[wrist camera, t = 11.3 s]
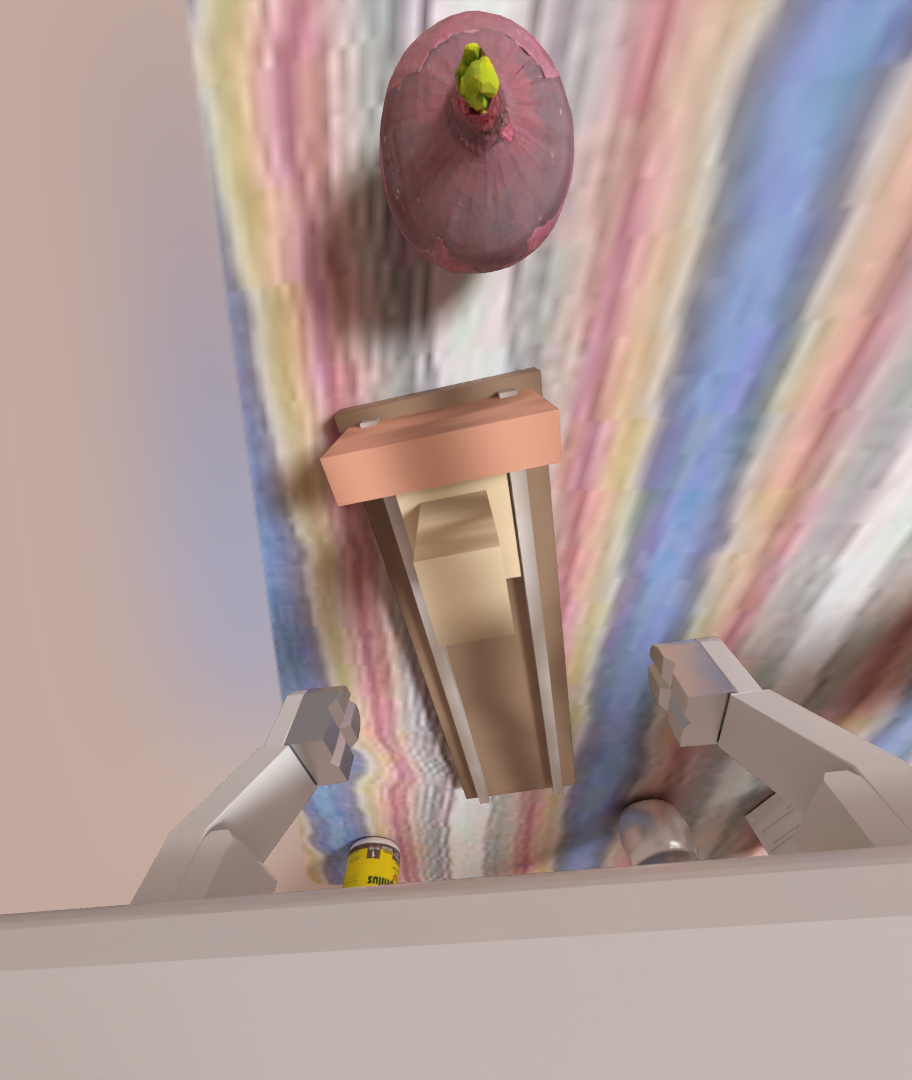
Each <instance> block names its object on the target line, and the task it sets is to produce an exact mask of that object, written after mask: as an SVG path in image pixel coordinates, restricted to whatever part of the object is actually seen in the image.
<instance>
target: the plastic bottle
mask: <svg viewBox="0 0 912 1080" xmlns="http://www.w3.org/2000/svg"><path fill="white" fill-rule="evenodd" d="M618 829H619V834H620V839H621V843H622V846H623V848H624V850H625V852H626V855H627V857H628V859H629V861H630V863H631V865H632V866H636V865H649V864H662V863H675V862H688V861H700V860H699V858H698V852H697V849H696V845H695V842H694V840H693V837H692V834H691V832H690V829H689V827H688V825H687V823H686V822H685V820H684V819H683V817H682V816H681V814H680V813H679V811H678V810H677V809H676V808H675V807H673V806H672V805H671V804H669V803H668V802H666V801H664V800H659V799H648V800H642V801H639V802H636V803H633V804H631V805H629V806H628V807H626V808H625V809H624V810H623V811H622V812H621V814H620V817H619V822H618Z"/></svg>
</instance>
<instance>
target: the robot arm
mask: <svg viewBox="0 0 912 1080" xmlns="http://www.w3.org/2000/svg"><path fill="white" fill-rule="evenodd" d="M650 657H651V658H652V660H653V662H654V663H653V664H652V665H651V666H650V667H649V682H650V687H651V690H652V693H653V695H654V698H655V700H656V702H657V704H658V705H659V706H660V707H662V708H663V709H665V710H666V711H668V714H667V723H668V725H669V727H670V729H671V731H672V732H673V734H674V736H675V738H676V740H677V742H678V744H679V746H680V747H685V746H698V745H711V744H718V746H719V747H720V748H721V749H722V750H724V751H725V752H726V753H727V754H728V755H730V756H731V757H732V758H733V759H735V760H736V761H737V762H738V763H740V764H741V765H742V766H743V767H745V768H746V769H747V770H748V771H750V772H751V773H752V774H753V775H754V776H756V777H757V778H758V779H759V780H761V781H762V782H763V783H764V784H766V785H767V786H768V787H769V788H771V789H772V790H773V791H774V792H776V793H777V794H778V795H779V796H781V797H782V798H783V799H784V800H785V801H787V802H788V803H789V804H790V805H792V806H793V807H794V808H795V809H797V810H798V811H799V812H800V813H802V814H803V817H802V819H801V821H800V823H799V825H798V827H797V829H796V831H795V834H794V837H793V839H792V841H793V842H794V844H795V845H796V847H797V849H798V850H799V852H800V853H792V854H779V855H766V856H753V857H740V858H727V859H714V860H701V861H688V862H675V863H662V864H649V865H636V866H623V867H610V868H597V869H584V870H571V871H558V872H545V873H532V874H519V875H506V876H493V877H480V878H467V879H454V880H441V881H428V882H415V883H402V884H389V885H376V886H363V887H350V888H338V889H325V890H313V891H300V892H286V893H274V891H275V887H276V884H277V880H276V878H275V876H274V875H273V874H272V873H271V872H270V871H269V870H268V869H267V868H266V867H265V866H264V865H263V862H264V861H265V860H266V858H267V857H268V855H269V854H270V853H271V851H272V850H273V849H274V847H275V846H276V844H277V843H278V842H279V840H280V839H281V837H282V836H283V835H284V833H285V832H286V830H287V829H288V828H289V826H290V825H291V824H292V822H293V821H294V819H295V818H296V817H297V815H298V814H299V812H300V811H301V810H302V808H303V807H304V806H305V804H306V803H307V801H308V800H309V799H310V797H311V796H312V794H313V793H314V792H315V790H316V789H317V787H316V786H320V785H328V784H335V783H342V782H348V779H349V775H350V771H351V767H352V762H353V758H354V755H353V753H352V751H351V747H352V746H353V745H354V744H355V743H356V742H357V740H358V737H359V732H360V715H359V710H358V708H357V706H356V704H354V703H353V702H351V701H349V698H350V692H349V690H348V688H347V686H336V687H326V688H316V689H308V690H299V691H292V692H291V693H290V694H289V695H288V696H287V697H286V699H285V701H284V704H283V706H282V708H281V710H280V712H279V715H278V717H277V719H276V721H275V723H274V726H273V728H272V730H271V732H270V734H269V737H268V739H267V741H266V743H265V745H264V748H261V749H257V750H256V751H255V752H254V753H253V754H252V755H251V756H250V757H249V758H248V759H247V760H246V761H245V762H244V763H243V764H242V765H241V766H240V767H238V768H237V769H236V770H235V771H234V772H233V773H232V774H231V775H230V776H229V777H228V778H227V779H226V780H225V781H224V782H223V783H222V784H221V785H220V786H219V787H218V788H216V789H215V790H214V791H213V792H212V793H211V794H210V795H209V796H208V797H207V798H206V799H205V800H204V801H203V802H202V803H201V804H200V805H199V806H198V807H197V808H196V809H195V810H193V811H192V812H191V814H189V815H188V816H187V817H186V818H185V819H184V820H183V821H182V822H181V823H180V824H179V825H178V826H177V827H176V828H175V829H174V830H173V831H171V833H170V834H169V836H168V837H167V839H166V841H165V843H164V845H163V846H162V848H161V850H160V852H159V853H158V855H157V857H156V859H155V861H154V862H153V864H152V866H151V868H150V869H149V872H148V873H147V875H146V877H145V878H144V880H143V882H142V884H141V885H140V887H139V889H138V891H137V893H136V894H135V896H134V898H133V900H132V902H131V903H130V905H118V906H105V907H94V908H80V909H67V910H54V911H41V912H28V913H16V914H1V915H0V1080H912V767H911V766H910V765H909V764H908V763H907V762H905V761H903V760H901V759H899V758H898V757H896V756H894V755H892V754H890V753H888V752H886V751H884V750H883V749H881V748H879V747H877V746H875V745H873V744H871V743H869V742H867V741H866V740H864V739H862V738H860V737H858V736H856V735H854V734H852V733H851V732H849V731H847V730H845V729H843V728H841V727H839V726H837V725H836V724H834V723H832V722H830V721H828V720H826V719H824V718H822V717H820V716H819V715H817V714H815V713H813V712H811V711H809V710H807V709H805V708H804V707H802V706H800V705H798V704H796V703H794V702H792V701H790V700H789V699H787V698H785V697H783V696H781V695H779V694H777V693H775V692H773V691H772V690H770V689H768V690H762V689H761V687H760V686H759V685H758V684H757V683H756V681H755V680H754V679H753V678H752V677H751V675H750V674H749V673H748V672H747V671H746V669H745V668H744V667H743V666H742V665H741V663H740V662H739V661H738V660H737V659H736V657H735V656H734V655H733V654H732V653H731V651H730V650H729V649H728V648H727V647H726V645H725V644H724V643H723V642H722V640H721V639H719V638H718V637H716V636H714V637H707V638H699V639H694V640H692V639H690V640H683V641H676V642H669V643H662V644H655V645H652V647H651V650H650Z"/></svg>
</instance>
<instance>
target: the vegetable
mask: <svg viewBox="0 0 912 1080" xmlns="http://www.w3.org/2000/svg"><path fill="white" fill-rule="evenodd" d="M380 160H381V169H382V177H383V184H384V188H385V192H386V196H387V200H388V203H389V206H390V209H391V212H392V214H393V216H394V219H395V221H396V223H397V225H398V227H399V229H400V231H401V233H402V234H403V236H404V237H405V239H406V240H407V241H408V243H409V244H410V245H411V246H412V247H413V248H414V249H415V250H416V251H417V252H418V253H419V254H420V255H422V256H423V257H424V258H426V259H427V260H429V261H430V262H431V263H433V264H435V265H437V266H439V267H441V268H443V269H445V270H448V271H452V272H455V273H486V272H493V271H497V270H501V269H504V268H507V267H510V266H512V265H514V264H516V263H518V262H519V261H521V260H523V259H524V258H525V257H527V256H528V255H530V254H531V253H532V252H533V251H535V250H536V249H537V248H538V247H539V246H540V245H541V244H542V243H543V241H544V240H545V239H546V238H547V237H548V235H549V234H550V232H551V231H552V229H553V228H554V226H555V224H556V222H557V220H558V218H559V215H560V213H561V210H562V208H563V205H564V202H565V199H566V196H567V193H568V190H569V186H570V183H571V179H572V172H573V163H574V128H573V119H572V113H571V110H570V107H569V104H568V100H567V97H566V93H565V90H564V87H563V84H562V82H561V79H560V76H559V73H558V72H557V70H556V68H555V66H554V64H553V62H552V60H551V58H550V56H549V55H548V54H547V53H546V51H545V50H544V49H543V47H542V46H541V45H540V44H539V43H538V42H537V41H536V39H535V38H534V37H533V36H532V35H531V34H530V33H529V32H528V31H526V30H525V29H524V28H522V27H521V26H519V25H518V24H516V23H515V22H513V21H512V20H510V19H507V18H505V17H502V16H500V15H496V14H491V13H486V12H481V11H466V12H462V13H459V14H456V15H452V16H450V17H447V18H445V19H443V20H441V21H439V22H438V23H436V24H435V25H433V26H432V27H431V28H429V29H428V30H426V31H425V32H423V33H422V34H421V35H420V36H419V37H418V38H417V39H416V40H415V41H414V42H413V43H412V44H411V45H410V46H409V48H408V49H407V50H406V51H405V52H404V54H403V56H402V57H401V59H400V61H399V63H398V65H397V66H396V68H395V70H394V73H393V75H392V77H391V79H390V82H389V85H388V88H387V92H386V97H385V101H384V107H383V112H382V118H381V127H380Z"/></svg>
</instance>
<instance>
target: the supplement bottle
mask: <svg viewBox="0 0 912 1080" xmlns="http://www.w3.org/2000/svg"><path fill="white" fill-rule="evenodd" d="M399 864H400V849H399V847H398V846H397V844H396V843H394V842H393V841H391V840H389V839H386V838H381V837H368V838H364V839H361V840H358V841H357V842H355V843H354V844H353V845H352V847H351V848H350V851H349V855H348V861H347V866H346V872H345V877H344V883H343V888H350V887H363V886H376V885H389V884H398V876H399Z"/></svg>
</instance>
